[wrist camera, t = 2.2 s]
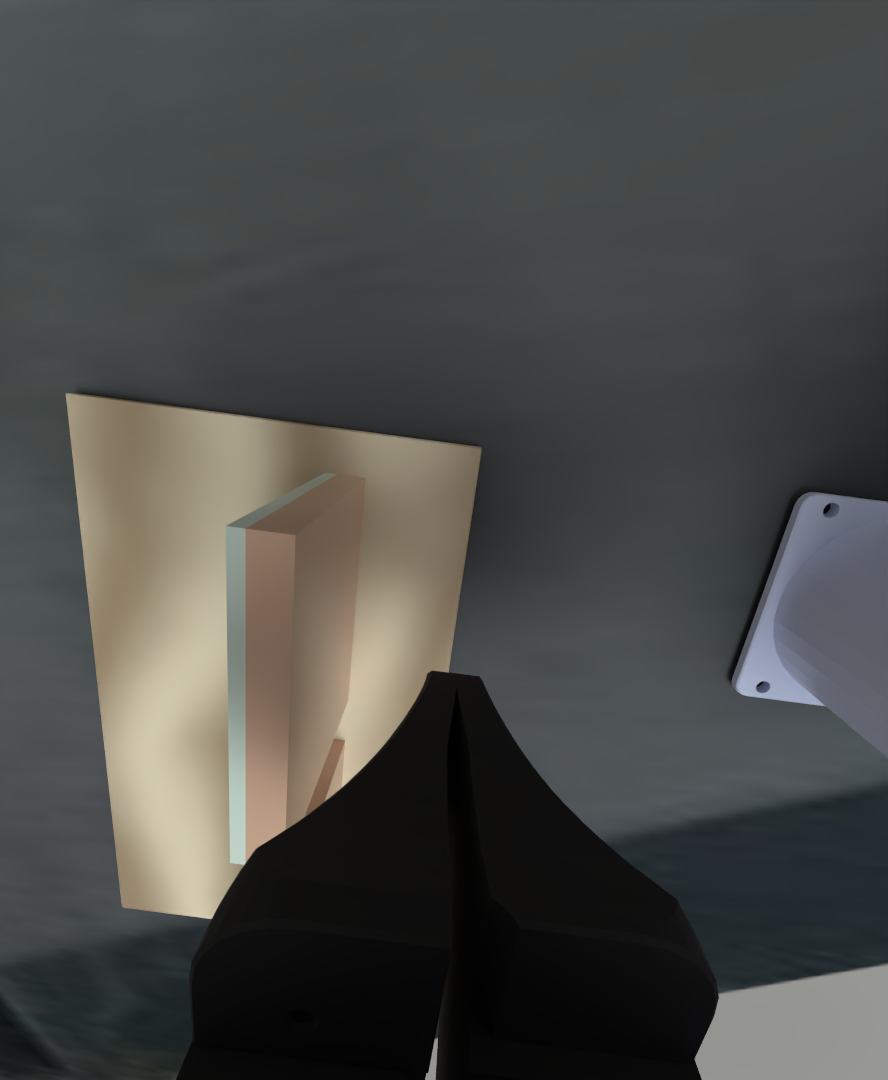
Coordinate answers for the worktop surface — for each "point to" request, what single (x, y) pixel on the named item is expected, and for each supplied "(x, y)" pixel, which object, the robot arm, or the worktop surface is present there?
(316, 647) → the tile
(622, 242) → the worktop surface
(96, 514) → the board
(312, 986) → the robot arm
